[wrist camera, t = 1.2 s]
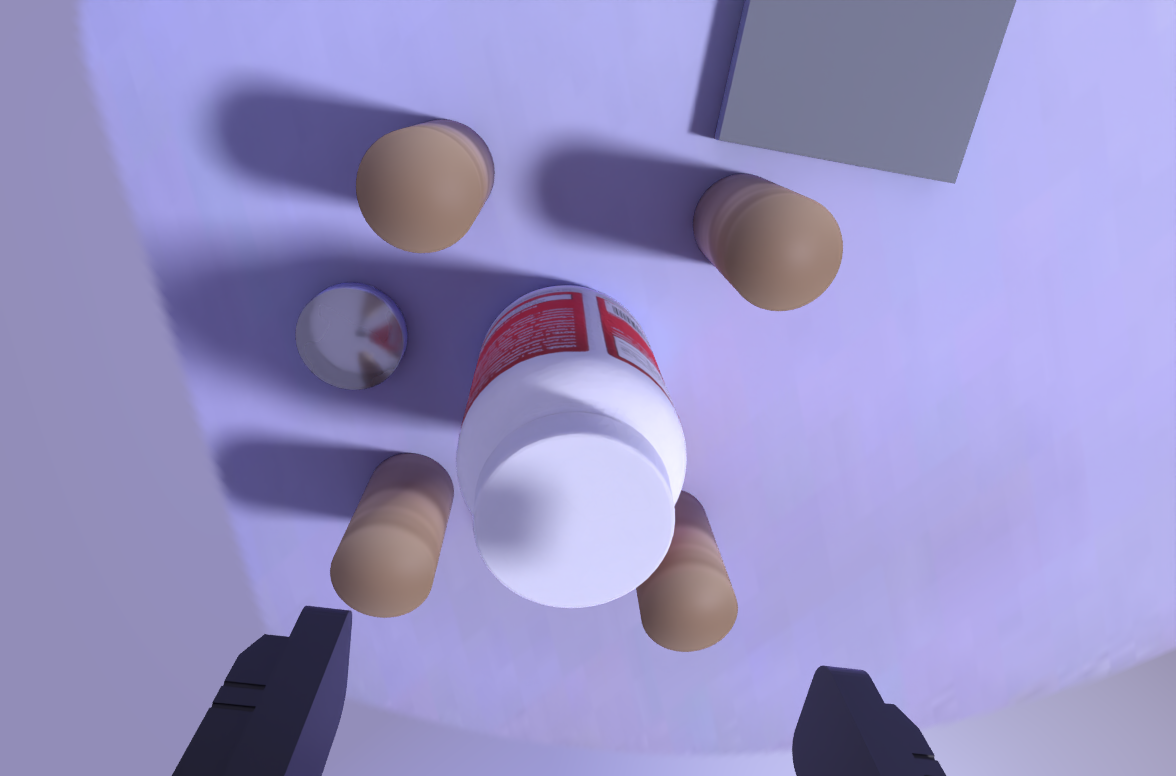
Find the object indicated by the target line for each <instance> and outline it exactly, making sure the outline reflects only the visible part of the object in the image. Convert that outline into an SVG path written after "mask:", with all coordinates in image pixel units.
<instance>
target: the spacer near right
mask: <svg viewBox="0 0 1176 776" xmlns="http://www.w3.org/2000/svg"><path fill="white" fill-rule="evenodd" d="M693 231H694V236H695V240H696V242H697V245H698V247H699V248H700V250H701V251H702V253H703V254H704V255H705V256H706V257H707V258H708V259H709V261H710V262H711V263H712V264H713V265H714V266H715V267H716V268H717V269H718V270H719V272H720V273H721V274H722V275H723V276H724V277H725V278H726V279H727V280H728V281H729V283H730V284H731V285H732V286H733V287H734V288H735V289H736V290H737V291H738V292H739V294H740V295H741V296H742V297H743V298H744V299H746V300H747V301H748V302H750V303H751V304H753V305H755V306H757V307H760V308H762V309H766V310H771V311H787V310H793V309H796V308H800V307H802V306H804V305H806V304H808V303H810V302H812V301H813V300H815V299H816V298H817V297H819V296H820V295H821V294H822V293H823V292H824V291H825V290H826V289H827V288H828V287H829V285H830V284H831V283H832V281H833V280H834V278H835V276H836V274H837V272H838V269H839V267H840V264H841V259H842V253H843V241H842V235H841V232H840V228H839V226H838V224H837V222H836V220H835V218H834V217H833V215H832V214H831V213H830V212H829V211H828V210H827V209H826V208H825V207H824V206H823V205H821V204H820V203H818V202H816V201H814V200H812V199H810V198H807V197H805V196H803V195H800V194H798V193H796V192H794V191H791V190H789V189H787V188H784V187H782V186H780V185H777V184H775V183H773V182H770V181H768V180H766V179H763V178H761V177H758V176H755V175H751V174H736V175H731V176H728V177H725V178H723V179H721V180H719V181H717V182H716V183H714V184H713V185H712V186H711V187H710V188H709V189H708V190H707V191H706V192H705V193H704V194H703V196H702V197H701V199H700V200H699V202H698V205H697V207H696V210H695V213H694V219H693Z"/></svg>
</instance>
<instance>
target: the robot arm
mask: <svg viewBox="0 0 1176 776" xmlns="http://www.w3.org/2000/svg"><path fill="white" fill-rule="evenodd" d="M351 628H352V612H351V611H349V610H340V609H331V608H322V607H313V606H305V607H304V608H303V610H302V612H301V614H300V616H299V618H298V620H297V622H296V624H295V626H294V628H293V630H292V632H291V634H290V637H285V636H276V635H266V634H264V635H263V636H262V637H261V638H260V639H258V640H257V641H256V642H254V643H253V644H252V645H251V646H250V647H248V648H247V649H246V650H245V651H243V652H242V653H241V654H240V655H239V656H238V657H237V659H236V661H235V663H234V665H233V666H232V669H231V670H230V672H229V674H228V676H227V677H226V679H225V681H224V685H223V686H221V688H220V690H219V692H218V694H217V695H216V697H215V699H214V701H213V704H212V707H211V708H209V710H208V711H207V713H206V715H205V717H204V719H203V720H202V722H201V724H200V726H199V728H198V730H197V731H196V733H195V735H194V737H193V738H192V740H191V742H190V744H189V746H188V747H187V749H186V751H185V753H184V755H183V756H182V758H181V760H180V762H179V764H178V766H177V767H176V769H175V771H174V773H173V774H172V776H322V773H323V770H324V767H325V764H326V761H327V758H328V755H329V752H330V749H331V746H332V743H333V740H334V737H335V734H336V731H337V728H338V725H339V722H340V718H341V714H342V710H343V705H344V700H345V695H346V688H347V677H348V665H349V652H350V640H351ZM792 754H793V763H794V768H795V772H796V775H797V776H946V775H945V773H944V771H943V769H942V768H941V766H940V764H939V762H938V761H936V760H935V759H934V754H933V752H932V750H931V748H930V747H929V745H928V744H927V742H926V740H925V738H924V736H923V735H922V733H921V731H920V729H919V728H918V727H917V726H916V725H915V724H914V723H913V722H912V721H911V720H910V719H909V718H908V717H907V716H906V715H905V714H904V713H903V712H902V711H901V710H900V709H899V708H897V707H896V706H895V705H894V704H885V703H884V701H883V699H882V698H881V696H880V694H879V692H878V690H877V688H876V687H875V685H874V683H873V681H872V679H871V677H870V676H869V674H868V673H867V672H865V671H863V670H857V669H848V668H839V667H830V666H820V667H819V668H818V669H817V670H816V672H815V674H814V677H813V679H812V682H811V685H810V688H809V691H808V694H807V697H806V700H805V703H804V706H803V709H802V712H801V714H800V717H799V720H798V723H797V726H796V729H795V732H794V737H793V746H792Z"/></svg>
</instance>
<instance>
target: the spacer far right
mask: <svg viewBox="0 0 1176 776" xmlns="http://www.w3.org/2000/svg"><path fill="white" fill-rule="evenodd" d="M674 508H675V526H674V534H673V537H672V541H671V544H670V547H669V549H668V551H667V553H666V555H665V557H664V558H663V560H662V562H661V563H660V565H659V566H658V567H657V569H656V570H655V571H654V572H653V573H652V574H651V575H650V577H649V578H648V579H646V580H645V581H644V582H643V583H642V584H641V585H639V586H638V587H637V588H636V590H637V596H638V602H639V608H640V614H641V620H642V624H643V627H644V629H645V631H646V633H647V634H648V636H649V637H650V638H651V639H652V640H653V641H654V642H656V643H657V644H659V645H660V646H662V647H664V648H667V649H670V650H674V651H680V652H691V651H698V650H701V649H705V648H707V647H710V646H712V645H714V644H715V643H717V642H719V641H720V640H721V639H722V638H724V637H725V636H726V635H727V634H728V632H729V631H730V630H731V628H732V627H733V625H734V623H735V620H736V617H737V612H738V605H737V600H736V596H735V594H734V591H733V588H732V585H731V582H730V580H729V577H728V574H727V571H726V569H725V566H724V563H723V560H722V557H721V555H720V552H719V549H718V546H717V544H716V541H715V538H714V535H713V532H712V530H711V527H710V524H709V521H708V519H707V516H706V513H705V510H704V508H703V506H702V505H701V503H700V502H699V501H698V500H697V499H696V498H695V497H694V496H692V495H691V494H689V493H687V492H685V491H682V490H681V492H680V495H679V498H678V500H677V502H676V504H675V506H674Z"/></svg>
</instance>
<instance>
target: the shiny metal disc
mask: <svg viewBox="0 0 1176 776" xmlns="http://www.w3.org/2000/svg"><path fill="white" fill-rule="evenodd" d="M295 336H296V345H297V348H298V352H299V354H300V356H301V358H302V360H303V362H304V363H305V365H306V366H307V367H308V369H309V370H310V371H311V372H312V373H313V374H314V375H316V376H317V377H318V378H319V379H321V380H322V381H324V382H326V383H328V384H330V385H332V386H335V387H338V388H342V389H349V390H361V389H367V388H370V387H373V386H375V385H378V384H380V383H381V382H383V381H384V380H386V379H387V378H388V377H389V376H390V375H391V374H392V373H393V372H394V370H395V369H396V368H397V366H398V364H399V362H400V360H401V359H402V357H403V355H404V353H405V350H406V347H407V341H408V332H407V325H406V321H405V319H404V316H403V314H402V312H401V310H400V309H399V307H398V306H397V305H396V303H395V302H394V301H393V300H392V299H391V298H390V297H389V296H387V295H386V294H385V293H383V292H382V291H380V290H379V289H377V288H375V287H372V286H369V285H367V284H362V283H355V282H346V283H339V284H336V285H333V286H330V287H328V288H326V289H325V290H323V291H322V292H320V293H319V294H318V295H317V296H316V297H315V298H313V299H312V300H311V301H310V302H309V303H308V304H307V305H306V306H305V307H304V309H303V310H302V312H301V314H300V316H299V318H298V321H297V325H296V332H295Z"/></svg>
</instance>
